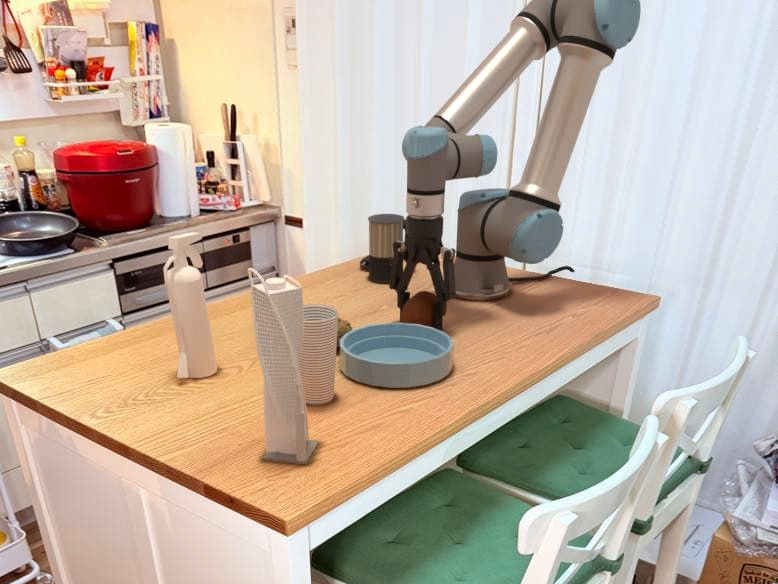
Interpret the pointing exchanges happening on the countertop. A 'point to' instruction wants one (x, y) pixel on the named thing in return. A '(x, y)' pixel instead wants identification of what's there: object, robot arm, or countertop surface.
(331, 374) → the cup
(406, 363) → the bowl
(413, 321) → the potato
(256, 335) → the skyscraper
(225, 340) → the countertop surface
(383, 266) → the milk frother
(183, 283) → the fire extinguisher
